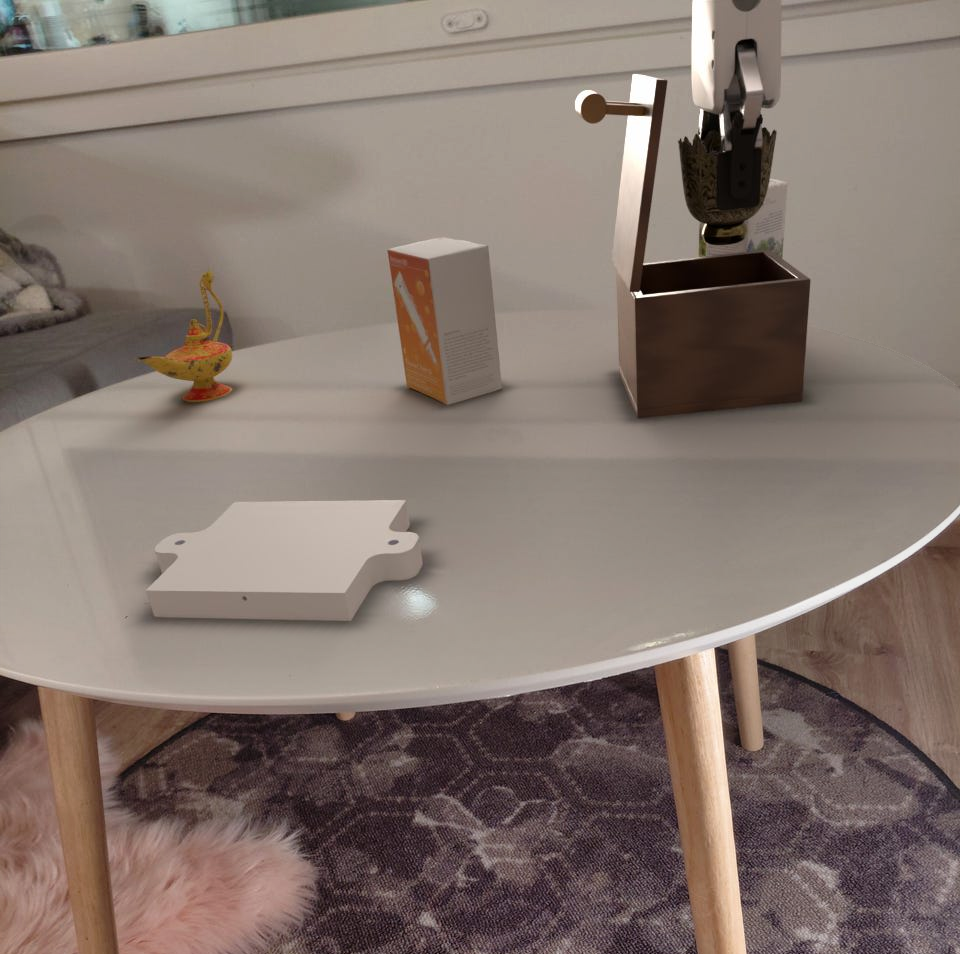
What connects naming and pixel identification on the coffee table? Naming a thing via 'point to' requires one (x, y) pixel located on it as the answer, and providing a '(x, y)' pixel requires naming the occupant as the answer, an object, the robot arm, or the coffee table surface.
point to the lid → (632, 167)
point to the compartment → (713, 334)
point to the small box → (446, 318)
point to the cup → (703, 187)
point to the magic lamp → (198, 356)
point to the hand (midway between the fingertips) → (726, 199)
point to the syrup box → (757, 226)
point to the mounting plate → (285, 561)
